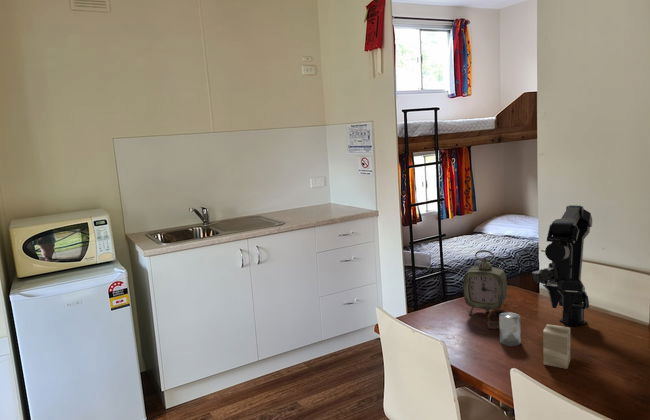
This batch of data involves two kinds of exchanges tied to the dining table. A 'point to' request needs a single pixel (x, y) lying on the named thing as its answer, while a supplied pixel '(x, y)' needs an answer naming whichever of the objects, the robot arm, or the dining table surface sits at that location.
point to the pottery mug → (497, 312)
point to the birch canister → (556, 346)
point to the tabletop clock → (485, 286)
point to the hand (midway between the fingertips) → (559, 310)
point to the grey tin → (509, 328)
